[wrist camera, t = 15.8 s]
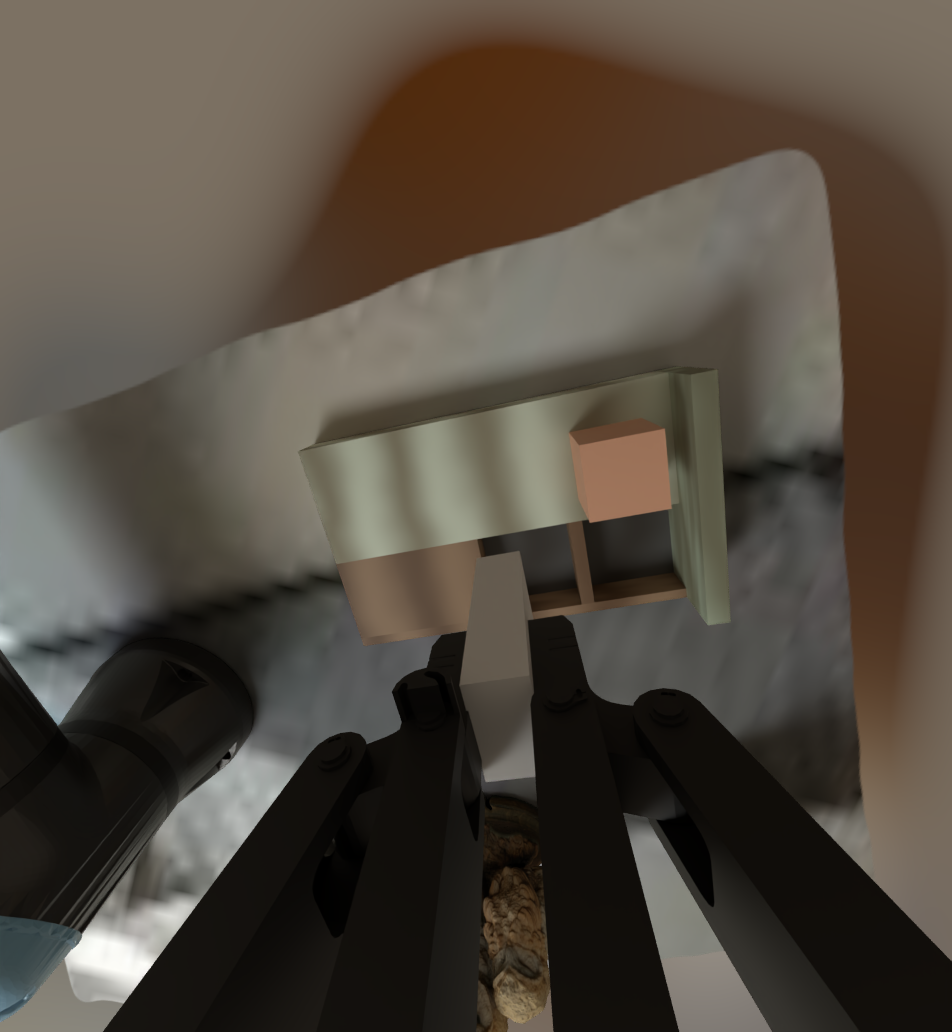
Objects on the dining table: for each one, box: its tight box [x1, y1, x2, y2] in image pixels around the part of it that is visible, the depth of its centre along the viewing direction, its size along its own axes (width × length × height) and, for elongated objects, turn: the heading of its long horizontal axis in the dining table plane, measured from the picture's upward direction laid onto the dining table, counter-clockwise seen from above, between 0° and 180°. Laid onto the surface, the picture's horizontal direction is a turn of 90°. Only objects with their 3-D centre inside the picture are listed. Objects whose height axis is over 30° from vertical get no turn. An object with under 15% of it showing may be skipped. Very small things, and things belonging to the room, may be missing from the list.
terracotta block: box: [569, 418, 672, 523], centre depth 31 cm, size 5×5×5 cm
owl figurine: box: [476, 796, 550, 1032], centre depth 42 cm, size 18×12×17 cm, turn 110°
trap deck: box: [298, 367, 731, 646], centre depth 34 cm, size 28×17×7 cm, turn 102°
